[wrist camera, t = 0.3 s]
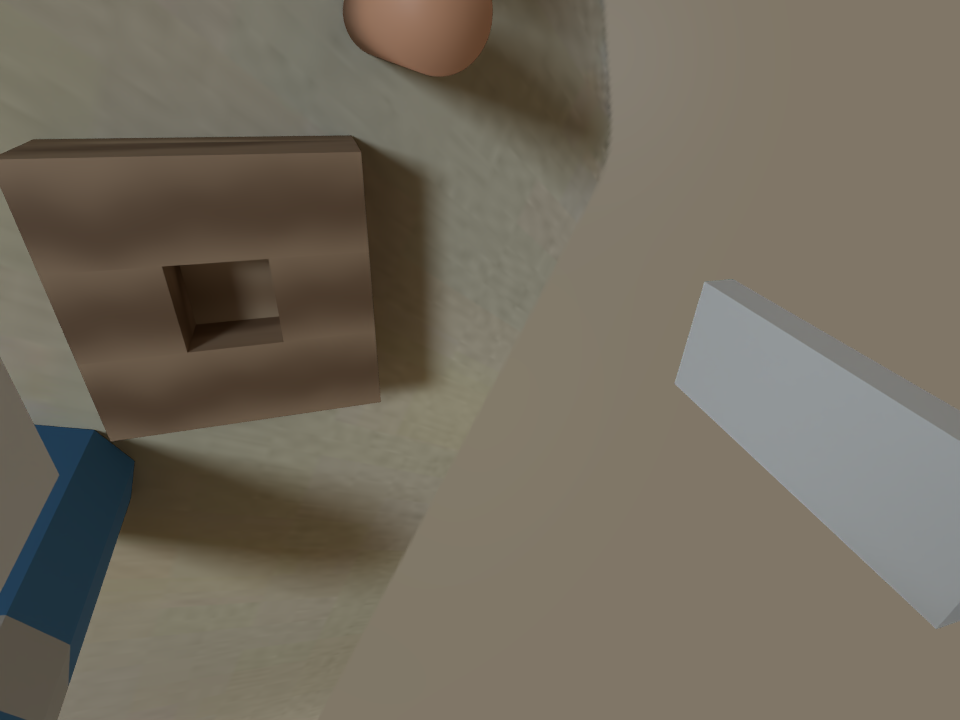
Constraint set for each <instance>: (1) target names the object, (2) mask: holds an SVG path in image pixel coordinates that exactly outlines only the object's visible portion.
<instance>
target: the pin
mask: <svg viewBox="0 0 960 720" xmlns="http://www.w3.org/2000/svg"><path fill="white" fill-rule="evenodd" d="M492 16H493V5H492V0H344V4H343V17H344V23H345V26H346V29H347V32H348V34H349V36H350V37H351V39H352V40H353V42H354V43H355V44H356V45H357V46H358V47H359V48H360V49H361V50H363V51H364V52H366V53H368V54H370V55H373V56H375V57H378V58H381V59H384V60H387V61H389V62H392V63H395V64H398V65H400V66H403V67H406V68H409V69H411V70H414V71H417V72H420V73H422V74H426V75H430V76H437V77H440V76H449V75H453V74H455V73H458V72H460V71H462V70H464V69H465V68H467V67H468V66H469V65H470V64H472V63H473V62H474V61H475V60H476V58H477V57H478V56H479V54H480V53H481V51H482V50H483V48H484V46H485V44H486V42H487V40H488V36H489V33H490V30H491V25H492Z"/></svg>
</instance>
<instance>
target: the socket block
mask: <svg viewBox="0 0 960 720" xmlns="http://www.w3.org/2000/svg"><path fill="white" fill-rule="evenodd" d="M0 187H1V189H2V192H3V194H4V196H5V199H6V201H7V203H8V206H9V208H10V210H11V212H12V215H13V217H14V219H15V222H16V224H17V226H18V229H19V231H20V233H21V236H22V238H23V240H24V243H25V245H26V247H27V249H28V252H29V254H30V256H31V259H32V261H33V263H34V266H35V268H36V270H37V273H38V275H39V277H40V279H41V282H42V284H43V286H44V289H45V291H46V293H47V296H48V298H49V300H50V303H51V305H52V307H53V310H54V312H55V314H56V316H57V319H58V321H59V323H60V326H61V328H62V330H63V333H64V335H65V337H66V340H67V342H68V344H69V347H70V349H71V351H72V353H73V356H74V358H75V360H76V363H77V365H78V367H79V370H80V372H81V374H82V377H83V379H84V381H85V383H86V386H87V388H88V390H89V393H90V395H91V397H92V400H93V402H94V404H95V407H96V409H97V411H98V414H99V416H100V418H101V420H102V423H103V425H104V427H105V430H106V432H107V434H108V437H109V439H110V441H117V440H124V439H131V438H138V437H145V436H151V435H158V434H165V433H172V432H179V431H186V430H192V429H199V428H206V427H213V426H220V425H227V424H233V423H240V422H247V421H254V420H261V419H268V418H274V417H281V416H288V415H295V414H302V413H309V412H315V411H322V410H329V409H336V408H343V407H350V406H356V405H363V404H370V403H377V402H381V399H380V386H379V373H378V360H377V348H376V335H375V322H374V310H373V297H372V284H371V272H370V259H369V246H368V233H367V221H366V208H365V195H364V183H363V170H362V157H361V151H360V149H359V147H358V146H357V144H356V142H355V140H354V139H353V137H352V136H274V137H194V138H113V139H33V140H31V141H29V142H27V143H24V144H22V145H20V146H18V147H15V148H13V149H11V150H9V151H7V152H4V153H2V154H0Z"/></svg>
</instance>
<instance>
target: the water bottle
mask: <svg viewBox="0 0 960 720" xmlns="http://www.w3.org/2000/svg"><path fill="white" fill-rule="evenodd" d="M35 427H36V429H37V431H38V433H39V435H40V437H41V439H42V441H43V443H44V445H45V447H46V449H47V451H48V453H49V455H50V457H51V459H52V461H53V463H54V465H55V467H56V469H57V471H58V473H59V477H58V479H57V481H56V482H55V484H54V486H53V488H52V490H51V492H50V494H49V496H48V498H47V500H46V502H45V504H44V506H43V508H42V510H41V512H40V514H39V516H38V518H37V520H36V522H35V524H34V526H33V528H32V530H31V532H30V534H29V536H28V538H27V540H26V542H25V544H24V546H23V548H22V550H21V552H20V554H19V556H18V558H17V560H16V562H15V564H14V566H13V568H12V570H11V572H10V574H9V576H8V578H7V580H6V582H5V584H4V586H3V588H2V590H1V592H0V720H57V719H58V716H59V713H60V710H61V707H62V704H63V701H64V698H65V695H66V692H67V689H68V686H69V683H70V680H71V677H72V674H73V671H74V668H75V665H76V662H77V659H78V656H79V653H80V650H81V647H82V644H83V641H84V638H85V635H86V632H87V629H88V626H89V623H90V620H91V616H92V613H93V610H94V607H95V604H96V601H97V598H98V595H99V592H100V589H101V586H102V583H103V580H104V577H105V574H106V571H107V568H108V565H109V562H110V559H111V556H112V553H113V550H114V547H115V544H116V541H117V538H118V535H119V532H120V529H121V526H122V523H123V520H124V517H125V514H126V511H127V508H128V505H129V502H130V499H131V491H132V482H133V472H134V462H135V461H134V460H132V459H131V458H130V457H128V456H127V455H126V454H125V453H123V452H122V451H121V450H119V449H118V448H117V447H116V446H114V445H113V444H112V443H110V442H109V441H108V440H107V439H105V438H104V437H103V436H101V435H100V434H99V433H97V432H96V431H95V430H88V429H77V428H65V427H54V426H42V425H35Z"/></svg>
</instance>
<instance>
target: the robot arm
mask: <svg viewBox="0 0 960 720" xmlns="http://www.w3.org/2000/svg"><path fill="white" fill-rule="evenodd" d="M675 384H676V386H678V387H679V388H680V389H681V390H682V391H683V392H684V393H685V394H686V395H687V396H688V397H689V398H690V399H691V400H692V401H694V402H695V403H696V404H697V405H698V406H699V407H700V408H701V409H702V410H703V411H704V412H705V413H706V414H707V415H709V416H710V417H711V418H712V419H713V420H714V421H715V422H716V423H717V424H718V425H719V426H720V427H721V428H722V429H723V430H725V431H726V432H727V433H728V434H729V435H730V436H731V437H732V438H733V439H734V440H735V441H736V442H737V443H738V444H739V445H740V446H742V447H743V448H744V449H745V450H746V451H747V452H748V453H749V454H750V455H751V456H752V457H753V458H754V459H755V460H757V461H758V462H759V463H760V464H761V465H762V466H763V467H764V468H765V469H766V470H767V471H768V472H769V473H770V474H772V476H774V477H775V478H776V479H777V480H778V481H779V482H780V483H781V484H782V485H783V486H784V487H785V488H786V489H788V491H790V492H791V493H792V494H793V495H794V496H795V497H796V498H797V499H798V500H799V501H800V502H801V503H802V504H803V505H804V506H806V507H807V508H808V509H809V510H810V511H811V512H812V513H813V514H814V515H815V516H816V517H817V518H818V519H819V520H820V521H822V522H823V523H824V524H825V525H826V526H827V527H828V528H829V529H830V530H831V531H832V532H833V533H834V534H835V535H837V536H838V537H839V538H840V539H841V540H842V541H843V542H844V543H845V544H846V545H847V546H848V547H849V548H850V549H852V551H854V552H855V553H856V554H857V555H858V556H859V557H860V558H861V559H862V560H863V561H864V562H865V563H866V564H867V565H869V566H870V567H871V568H872V569H873V570H874V571H875V572H876V573H877V574H878V575H879V576H880V577H881V578H882V579H883V580H884V581H886V582H887V583H888V584H889V585H890V586H891V587H892V588H893V589H894V590H895V591H896V592H897V593H898V594H900V596H902V597H903V598H904V599H905V600H906V601H907V602H908V603H909V604H910V605H911V606H912V607H913V608H914V609H915V610H917V611H918V612H919V613H920V614H921V615H922V616H923V617H924V618H925V619H926V620H927V621H928V622H929V623H931V625H933V626H934V627H935V628H936V629H938V628H941V627H944V626H947V625H949V624H952V623H955V622H957V621H960V411H959V410H958V409H956V408H954V407H952V406H951V405H949V404H947V403H946V402H944V401H942V400H941V399H939V398H937V397H935V396H934V395H932V394H930V393H928V392H927V391H925V390H923V389H921V388H920V387H918V386H916V385H915V384H913V383H911V382H909V381H908V380H906V379H904V378H903V377H901V376H899V375H897V374H896V373H894V372H892V371H890V370H888V369H887V368H885V367H883V366H882V365H880V364H878V363H877V362H875V361H873V360H872V359H870V358H868V357H866V356H865V355H863V354H861V353H859V352H858V351H856V350H854V349H853V348H851V347H849V346H847V345H846V344H844V343H842V342H841V341H839V340H837V339H835V338H833V337H832V336H830V335H828V334H827V333H825V332H823V331H822V330H820V329H818V328H816V327H814V326H813V325H811V324H809V323H808V322H806V321H804V320H803V319H801V318H799V317H797V316H796V315H794V314H792V313H790V312H789V311H787V310H785V309H784V308H782V307H780V306H778V305H777V304H775V303H773V302H771V301H770V300H768V299H766V298H764V297H763V296H761V295H759V294H758V293H756V292H754V291H752V290H751V289H749V288H747V287H746V286H744V285H742V284H740V283H739V282H737V281H735V280H733V279H728V280H718V281H706V282H704V285H703V289H702V292H701V296H700V299H699V302H698V306H697V309H696V312H695V316H694V319H693V323H692V326H691V329H690V333H689V336H688V340H687V343H686V347H685V350H684V353H683V357H682V360H681V363H680V367H679V370H678V374H677V377H676V381H675ZM58 477H59V473H58V471H57V469H56V467H55V465H54V463H53V461H52V459H51V457H50V455H49V453H48V451H47V449H46V447H45V445H44V443H43V441H42V439H41V437H40V435H39V433H38V431H37V429H36V427H35V425H34V423H33V421H32V419H31V417H30V415H29V413H28V411H27V409H26V407H25V405H24V404H23V402H22V400H21V398H20V396H19V394H18V392H17V390H16V388H15V386H14V384H13V382H12V380H11V378H10V376H9V374H8V372H7V370H6V368H5V366H4V364H3V362H2V360H1V358H0V592H1V590H2V588H3V586H4V584H5V582H6V580H7V578H8V576H9V574H10V572H11V570H12V568H13V566H14V564H15V562H16V560H17V558H18V556H19V554H20V552H21V550H22V548H23V546H24V544H25V542H26V540H27V538H28V536H29V534H30V532H31V530H32V528H33V526H34V524H35V522H36V520H37V518H38V516H39V514H40V512H41V510H42V508H43V506H44V504H45V502H46V500H47V498H48V496H49V494H50V492H51V490H52V488H53V486H54V484H55V482H56V481H57V479H58Z"/></svg>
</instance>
